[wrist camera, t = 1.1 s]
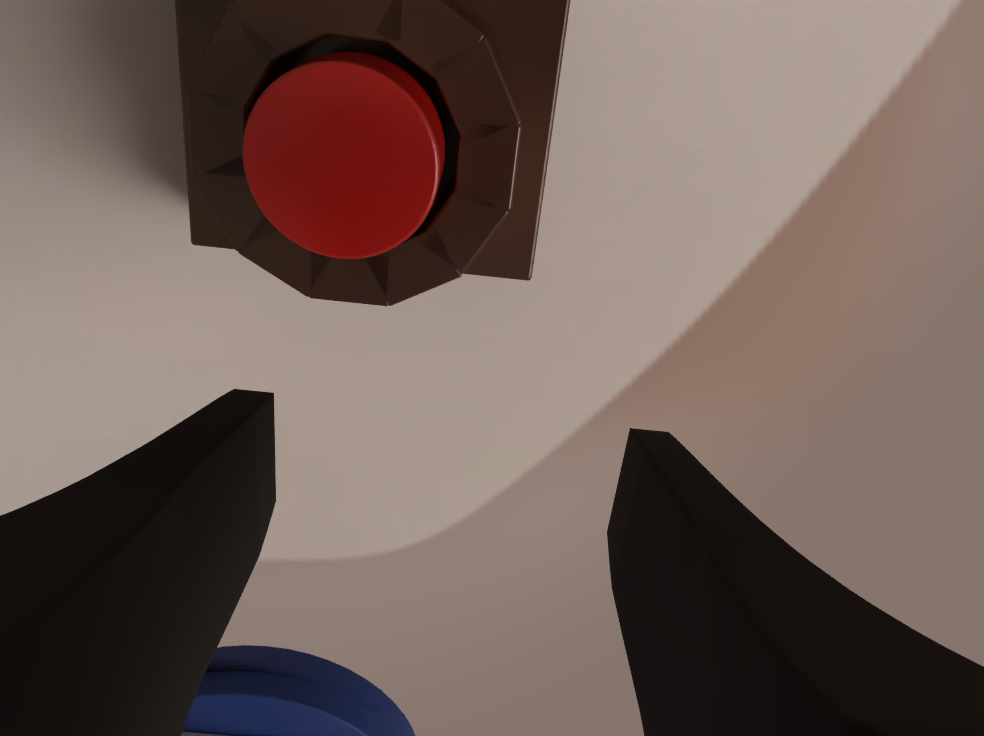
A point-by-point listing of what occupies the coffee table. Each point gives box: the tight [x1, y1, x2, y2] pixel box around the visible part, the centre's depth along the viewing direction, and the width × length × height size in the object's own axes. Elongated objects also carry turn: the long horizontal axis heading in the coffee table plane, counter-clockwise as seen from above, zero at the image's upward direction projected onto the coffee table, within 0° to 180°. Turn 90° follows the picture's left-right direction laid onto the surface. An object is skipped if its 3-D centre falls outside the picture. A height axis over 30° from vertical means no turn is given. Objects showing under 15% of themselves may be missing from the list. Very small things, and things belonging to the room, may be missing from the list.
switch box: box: [175, 0, 570, 306], centre depth 16 cm, size 10×8×4 cm
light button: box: [242, 51, 445, 259], centre depth 15 cm, size 4×4×2 cm
